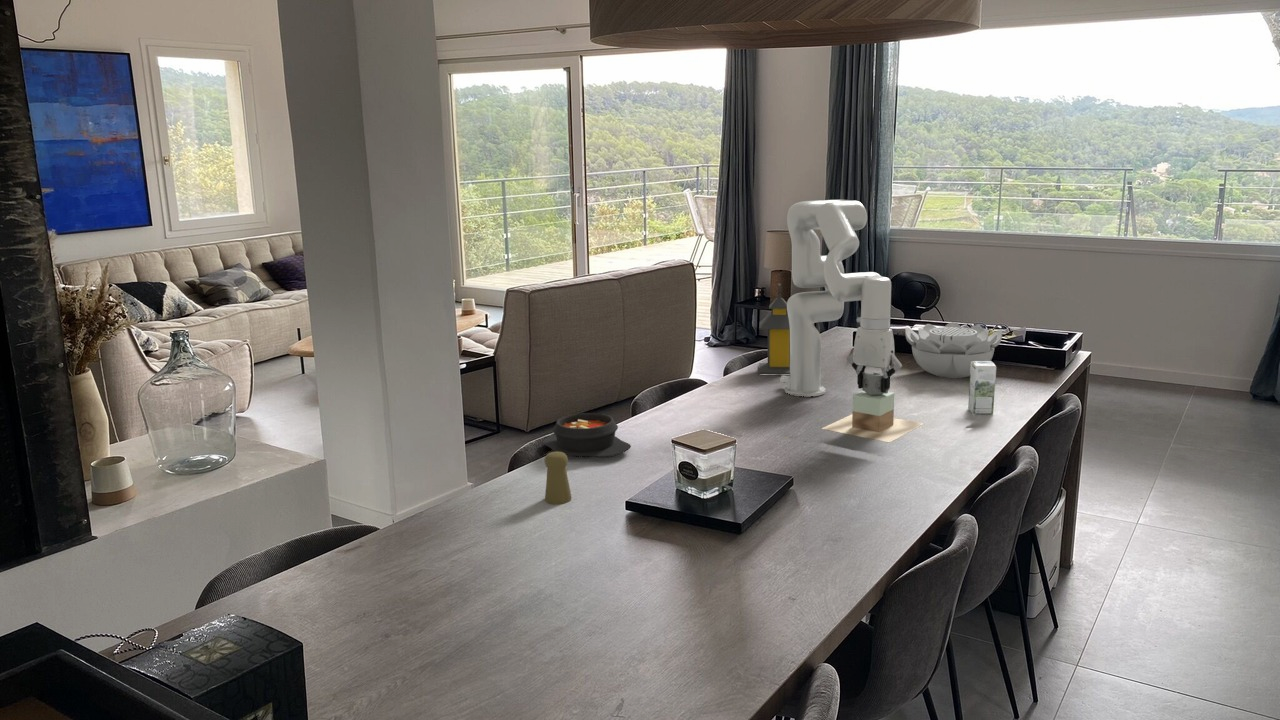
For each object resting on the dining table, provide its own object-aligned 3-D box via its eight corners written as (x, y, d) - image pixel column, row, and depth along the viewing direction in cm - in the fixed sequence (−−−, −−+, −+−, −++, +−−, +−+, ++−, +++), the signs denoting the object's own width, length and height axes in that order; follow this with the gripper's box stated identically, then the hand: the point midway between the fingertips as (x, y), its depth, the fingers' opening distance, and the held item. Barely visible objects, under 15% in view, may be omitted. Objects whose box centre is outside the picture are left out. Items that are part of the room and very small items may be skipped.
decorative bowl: (920, 360, 331) (921, 318, 328) (1007, 370, 314) (1010, 326, 310) (887, 379, 307) (888, 334, 304) (980, 391, 290) (983, 343, 287)
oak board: (821, 433, 254) (821, 428, 254) (857, 416, 268) (857, 411, 268) (889, 447, 241) (889, 442, 241) (923, 428, 255) (924, 423, 255)
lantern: (758, 375, 318) (758, 287, 311) (759, 365, 332) (758, 281, 325) (800, 375, 316) (801, 287, 309) (799, 365, 330) (800, 280, 323)
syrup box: (988, 409, 272) (991, 360, 268) (993, 414, 266) (996, 365, 262) (967, 409, 272) (970, 360, 269) (972, 414, 266) (975, 365, 263)
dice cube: (870, 394, 249) (870, 376, 248) (862, 389, 254) (862, 372, 253) (887, 393, 250) (888, 375, 249) (879, 388, 255) (880, 370, 254)
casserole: (645, 449, 246) (644, 418, 244) (601, 470, 232) (599, 437, 230) (573, 434, 261) (571, 405, 259) (526, 453, 246) (525, 422, 244)
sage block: (852, 411, 253) (852, 394, 252) (866, 404, 259) (867, 388, 258) (879, 416, 248) (880, 399, 247) (893, 409, 254) (894, 392, 253)
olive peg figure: (545, 495, 216) (542, 449, 214) (571, 493, 217) (569, 448, 214) (544, 504, 210) (542, 458, 208) (571, 503, 211) (569, 456, 208)
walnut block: (852, 427, 254) (852, 411, 253) (866, 420, 260) (866, 404, 259) (879, 432, 249) (879, 416, 248) (893, 425, 255) (893, 409, 254)
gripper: (839, 322, 251) (837, 387, 255) (899, 329, 240) (896, 397, 244) (853, 317, 256) (851, 381, 260) (912, 324, 245) (909, 391, 249)
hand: (873, 388), depth 252 cm, fingers closed on dice cube, 6 cm apart
